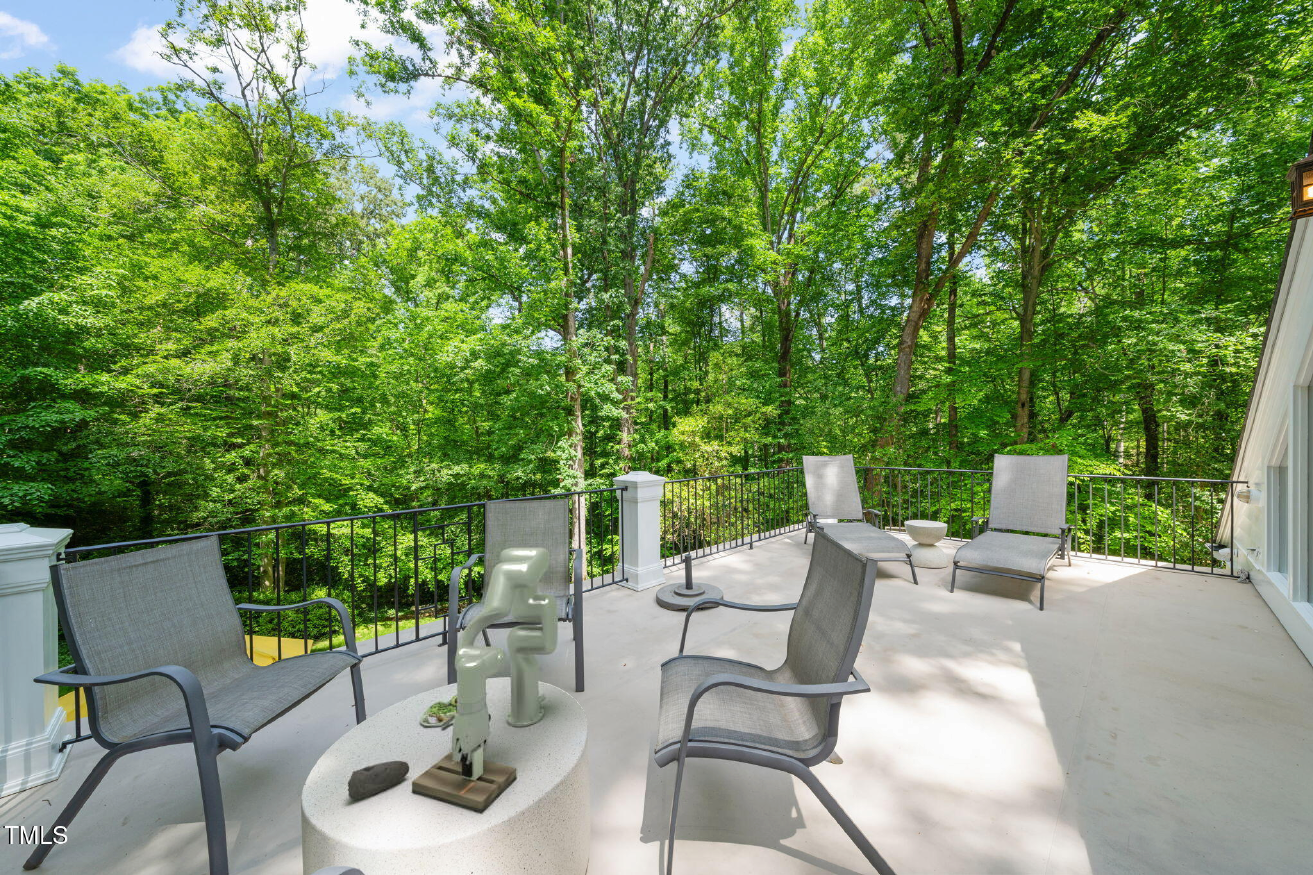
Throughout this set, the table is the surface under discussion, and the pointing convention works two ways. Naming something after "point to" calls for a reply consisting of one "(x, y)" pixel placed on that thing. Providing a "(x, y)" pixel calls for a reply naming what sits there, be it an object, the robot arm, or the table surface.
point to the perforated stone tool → (376, 778)
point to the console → (464, 784)
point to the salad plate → (440, 713)
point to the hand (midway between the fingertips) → (472, 771)
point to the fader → (476, 762)
